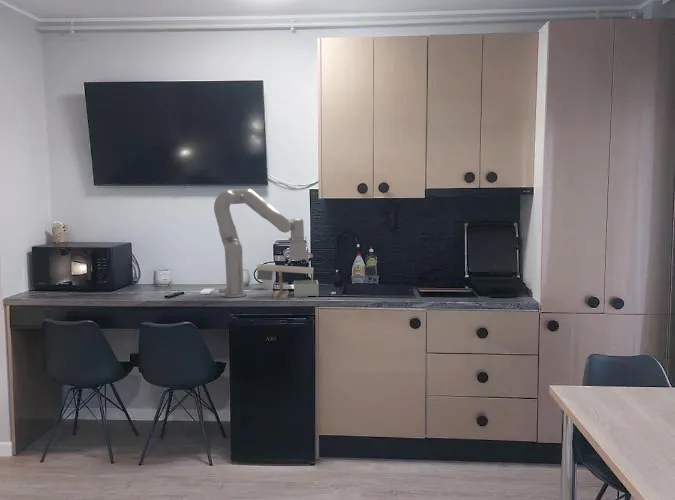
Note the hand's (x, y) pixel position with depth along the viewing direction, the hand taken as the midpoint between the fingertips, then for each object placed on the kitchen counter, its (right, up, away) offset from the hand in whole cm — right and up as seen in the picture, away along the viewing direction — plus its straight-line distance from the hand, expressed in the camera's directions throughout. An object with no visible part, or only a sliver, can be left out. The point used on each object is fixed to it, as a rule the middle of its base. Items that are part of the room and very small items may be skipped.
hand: (298, 269), depth 349 cm
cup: (+5, -14, -8) cm, 17 cm away
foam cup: (-19, -12, +15) cm, 27 cm away
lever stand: (-9, -14, -9) cm, 19 cm away
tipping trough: (-8, -5, -5) cm, 11 cm away
